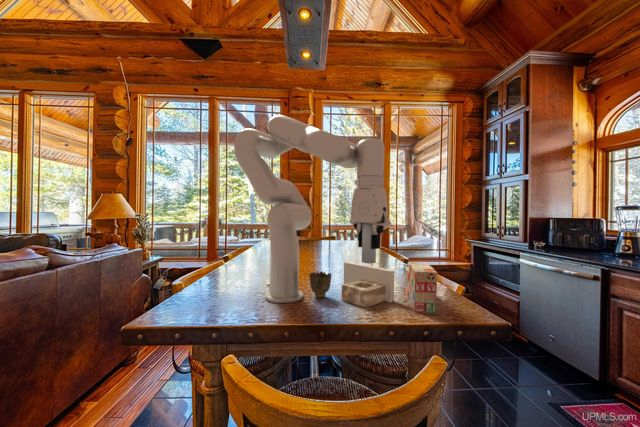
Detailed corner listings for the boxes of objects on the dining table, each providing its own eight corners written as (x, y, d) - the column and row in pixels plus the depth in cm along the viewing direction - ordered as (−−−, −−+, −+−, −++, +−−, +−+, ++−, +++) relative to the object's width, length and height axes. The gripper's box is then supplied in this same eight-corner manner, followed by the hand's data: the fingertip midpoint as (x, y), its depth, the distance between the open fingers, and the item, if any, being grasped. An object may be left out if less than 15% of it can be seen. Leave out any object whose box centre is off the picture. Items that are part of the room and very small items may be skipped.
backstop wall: (343, 289, 107) (343, 262, 107) (347, 288, 108) (347, 261, 108) (390, 302, 92) (390, 271, 92) (393, 301, 94) (394, 270, 94)
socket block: (341, 299, 94) (341, 284, 94) (360, 293, 101) (360, 279, 101) (366, 307, 87) (366, 291, 87) (385, 300, 94) (385, 285, 94)
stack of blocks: (403, 291, 105) (404, 257, 105) (421, 292, 104) (422, 258, 104) (414, 312, 84) (414, 270, 84) (436, 313, 83) (437, 271, 83)
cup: (335, 297, 97) (336, 273, 97) (321, 302, 92) (321, 277, 92) (319, 292, 102) (319, 270, 102) (304, 297, 97) (304, 273, 97)
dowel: (358, 261, 82) (359, 220, 82) (366, 260, 85) (367, 219, 85) (370, 264, 80) (371, 220, 79) (378, 262, 82) (379, 220, 82)
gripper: (339, 184, 85) (338, 245, 86) (387, 181, 73) (385, 252, 74) (356, 185, 91) (354, 243, 91) (403, 183, 78) (401, 250, 79)
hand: (368, 247), depth 82 cm, fingers closed on dowel, 4 cm apart
